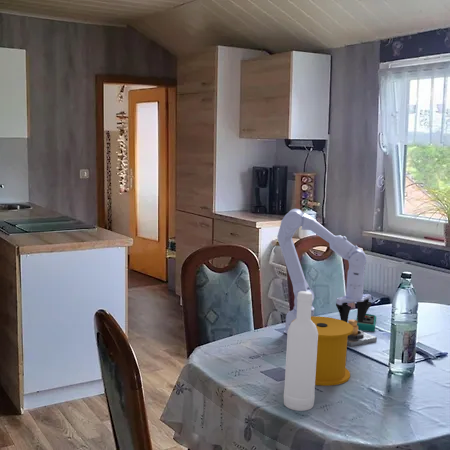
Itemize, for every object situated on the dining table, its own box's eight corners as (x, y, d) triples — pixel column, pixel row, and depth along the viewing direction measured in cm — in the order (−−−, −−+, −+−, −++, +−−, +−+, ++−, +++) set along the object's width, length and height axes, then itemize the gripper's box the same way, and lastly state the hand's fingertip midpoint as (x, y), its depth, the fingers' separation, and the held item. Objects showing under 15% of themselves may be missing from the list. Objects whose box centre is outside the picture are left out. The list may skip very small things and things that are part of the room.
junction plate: (350, 346, 209) (351, 339, 208) (326, 336, 219) (327, 329, 218) (376, 341, 215) (377, 334, 215) (352, 331, 225) (352, 324, 225)
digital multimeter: (376, 321, 240) (376, 314, 239) (374, 333, 225) (375, 325, 225) (356, 319, 242) (357, 312, 241) (354, 330, 227) (354, 322, 227)
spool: (352, 367, 191) (355, 319, 188) (347, 389, 173) (351, 337, 171) (293, 359, 195) (296, 312, 193) (283, 380, 178) (286, 330, 176)
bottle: (277, 403, 163) (282, 291, 158) (296, 395, 168) (302, 287, 164) (301, 414, 157) (307, 298, 153) (320, 405, 163) (327, 293, 158)
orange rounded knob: (351, 337, 214) (352, 323, 213) (343, 333, 217) (344, 319, 216) (360, 335, 216) (361, 321, 215) (351, 332, 219) (352, 318, 218)
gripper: (347, 289, 207) (344, 328, 209) (378, 285, 214) (375, 323, 216) (333, 284, 212) (330, 322, 215) (364, 280, 220) (361, 317, 222)
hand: (352, 322), depth 216 cm, fingers open, 7 cm apart
